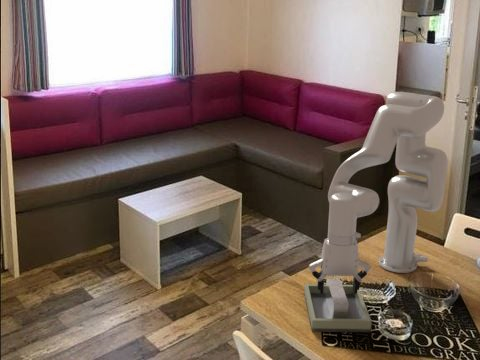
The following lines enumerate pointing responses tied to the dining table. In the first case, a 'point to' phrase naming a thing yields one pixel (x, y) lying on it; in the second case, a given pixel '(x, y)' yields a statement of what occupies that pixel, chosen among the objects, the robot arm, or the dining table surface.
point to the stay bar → (336, 299)
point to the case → (321, 315)
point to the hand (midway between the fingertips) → (338, 291)
